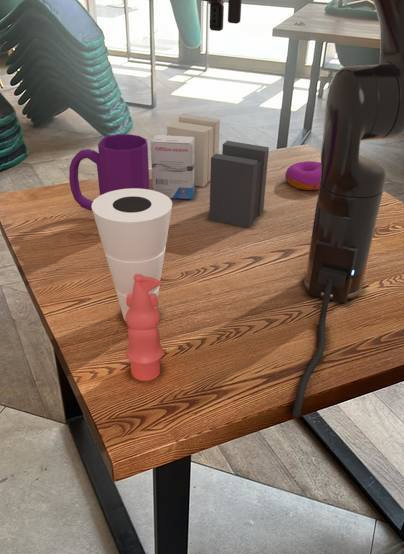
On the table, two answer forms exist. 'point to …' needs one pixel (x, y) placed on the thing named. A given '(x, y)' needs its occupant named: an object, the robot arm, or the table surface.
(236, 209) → the grey books
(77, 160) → the mug
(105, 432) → the table surface
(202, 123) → the cream books
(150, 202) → the cup
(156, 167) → the ink box
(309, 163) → the donut
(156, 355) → the figurine
